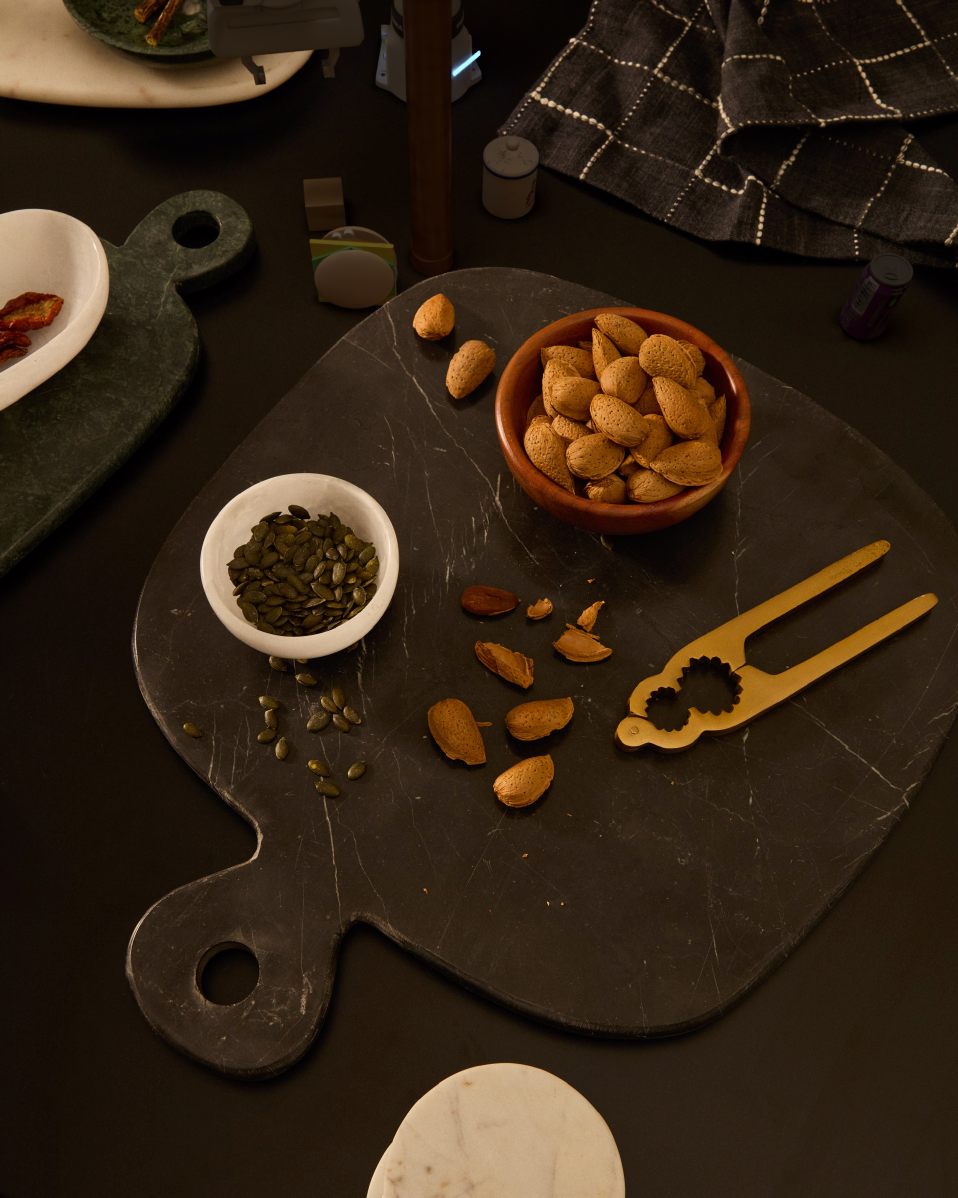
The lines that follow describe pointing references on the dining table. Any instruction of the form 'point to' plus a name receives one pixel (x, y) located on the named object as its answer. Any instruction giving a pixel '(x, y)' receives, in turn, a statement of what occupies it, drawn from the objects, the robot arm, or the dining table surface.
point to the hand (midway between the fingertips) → (295, 78)
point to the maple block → (324, 204)
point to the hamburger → (354, 268)
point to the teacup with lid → (509, 176)
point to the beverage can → (876, 296)
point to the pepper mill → (429, 131)
